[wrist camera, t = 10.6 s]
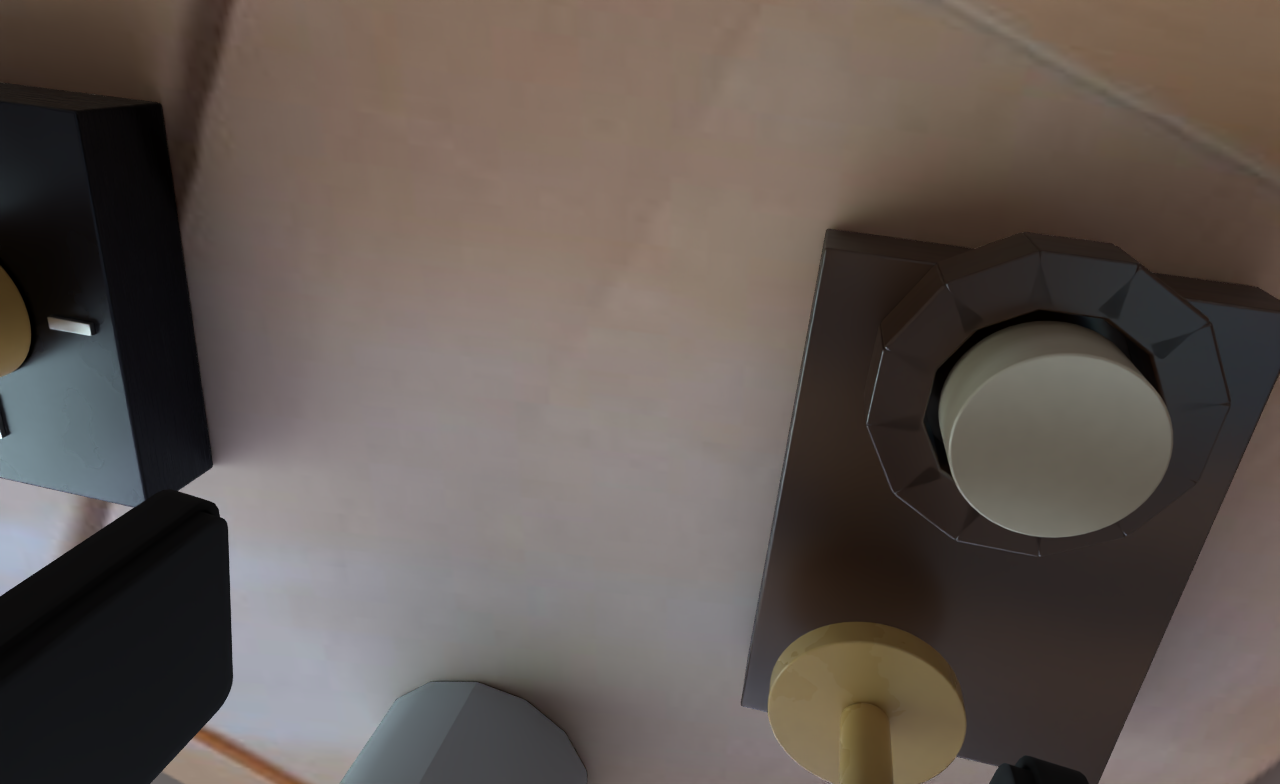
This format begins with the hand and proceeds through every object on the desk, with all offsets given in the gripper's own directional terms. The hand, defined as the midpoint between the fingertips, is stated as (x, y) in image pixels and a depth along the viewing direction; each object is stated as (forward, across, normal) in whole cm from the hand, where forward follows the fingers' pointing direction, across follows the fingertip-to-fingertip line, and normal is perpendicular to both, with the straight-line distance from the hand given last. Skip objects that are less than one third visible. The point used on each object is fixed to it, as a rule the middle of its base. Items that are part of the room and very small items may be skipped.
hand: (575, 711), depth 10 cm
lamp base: (+14, -8, +3) cm, 16 cm away
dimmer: (+14, +22, +4) cm, 26 cm away
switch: (+11, -7, -1) cm, 13 cm away
